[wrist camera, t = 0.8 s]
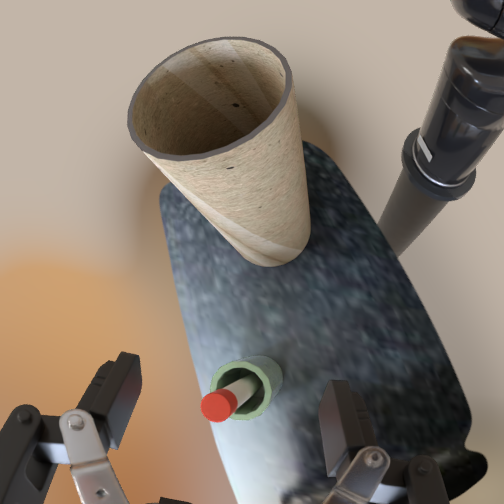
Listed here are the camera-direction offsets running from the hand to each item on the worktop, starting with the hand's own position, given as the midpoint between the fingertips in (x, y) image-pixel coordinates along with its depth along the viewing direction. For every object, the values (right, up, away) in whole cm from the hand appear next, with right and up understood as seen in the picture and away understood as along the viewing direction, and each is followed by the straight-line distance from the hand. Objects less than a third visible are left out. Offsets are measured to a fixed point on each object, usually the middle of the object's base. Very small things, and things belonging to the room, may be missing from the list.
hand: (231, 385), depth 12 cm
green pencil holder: (+2, -9, +23) cm, 25 cm away
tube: (+3, +9, +28) cm, 29 cm away
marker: (+2, -9, +23) cm, 24 cm away
